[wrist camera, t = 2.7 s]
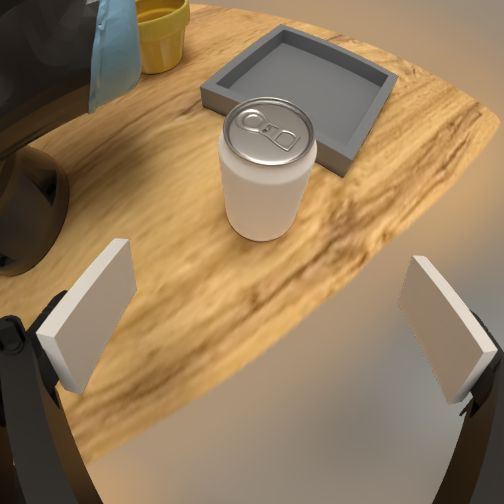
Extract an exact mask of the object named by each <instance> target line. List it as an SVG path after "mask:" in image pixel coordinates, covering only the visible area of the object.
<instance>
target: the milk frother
mask: <svg viewBox="0 0 504 504" xmlns="http://www.w3.org/2000/svg"><path fill="white" fill-rule="evenodd" d="M13 474H14V489H15V499H16V504H27V503H26V500H25V497H24V494H23V491H22V488H21V484H20V481H19V478H18V474H17V470H16V468H15V467H14V465H13Z"/></svg>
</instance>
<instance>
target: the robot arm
mask: <svg viewBox="0 0 504 504" xmlns="http://www.w3.org/2000/svg"><path fill="white" fill-rule="evenodd" d="M141 69H142V68H141V52H140V41H139V31H138V22H137V13H136V4H135V0H0V274H1V275H5V276H15V275H19V274H22V273H24V272H26V271H27V270H29V269H30V268H32V267H33V266H34V265H36V264H37V263H38V262H39V261H40V260H41V259H42V258H43V257H44V255H45V254H46V253H47V252H48V250H49V249H50V247H51V246H52V244H53V243H54V241H55V239H56V238H57V236H58V234H59V231H60V229H61V227H62V224H63V222H64V219H65V215H66V212H67V207H68V200H69V186H68V181H67V177H66V175H65V173H64V171H63V169H62V168H61V167H60V166H59V165H58V164H57V162H56V161H55V160H54V159H53V158H52V157H51V156H49V155H48V154H46V153H44V152H42V151H40V150H37V149H35V148H33V147H30V146H28V144H29V143H31V142H33V141H34V140H36V139H38V138H39V137H41V136H43V135H45V134H46V133H48V132H50V131H52V130H54V129H56V128H57V127H59V126H61V125H63V124H65V123H67V122H69V121H71V120H73V119H75V118H77V117H79V116H81V115H83V114H85V113H88V114H92V113H93V112H94V111H95V109H96V108H98V107H100V106H102V105H104V104H106V103H108V102H110V101H112V100H114V99H116V98H119V97H121V96H123V95H125V94H127V93H128V92H130V91H131V90H132V89H133V88H134V87H135V86H136V84H137V83H138V81H139V79H140V76H141ZM136 290H137V288H136V282H135V276H134V270H133V263H132V256H131V249H130V242H129V239H119V238H114V239H113V240H112V241H111V243H110V244H109V245H108V246H107V247H106V248H105V249H104V250H103V251H102V252H101V254H100V255H99V256H98V257H97V258H96V259H95V260H94V261H93V263H92V264H91V265H90V266H89V267H88V268H87V269H86V271H85V272H84V273H83V274H82V275H81V276H80V278H79V279H78V280H77V281H76V282H75V284H74V285H73V286H72V287H71V288H70V290H69V291H66V290H64V291H62V292H61V293H59V294H58V295H56V296H55V297H54V298H53V299H52V300H51V301H50V302H49V304H48V305H47V307H45V309H44V310H43V311H42V313H41V314H40V315H39V316H38V317H37V319H36V320H35V321H34V322H33V324H32V325H31V326H30V328H29V329H28V330H27V332H26V331H25V328H24V326H23V324H22V322H21V319H20V318H19V317H17V316H13V315H9V316H5V317H2V318H0V504H16V499H15V489H14V474H13V459H14V463H15V467H16V470H17V474H18V478H19V481H20V484H21V488H22V491H23V494H24V497H25V500H26V503H27V504H103V502H102V500H101V498H100V496H99V495H98V493H97V491H96V489H95V487H94V485H93V483H92V480H91V478H90V476H89V474H88V472H87V470H86V467H85V465H84V463H83V461H82V458H81V456H80V453H79V451H78V449H77V446H76V444H75V441H74V438H73V436H72V433H71V430H70V428H69V425H68V422H67V419H66V416H65V413H64V410H63V407H62V404H61V400H60V397H59V394H58V391H57V390H56V388H55V386H56V384H57V382H58V380H60V382H61V384H62V386H63V387H64V389H65V390H67V391H71V392H74V393H78V394H81V395H82V394H83V392H84V389H85V387H86V385H87V383H88V381H89V379H90V377H91V375H92V373H93V371H94V369H95V367H96V365H97V363H98V361H99V359H100V357H101V355H102V353H103V351H104V349H105V347H106V345H107V343H108V341H109V339H110V338H111V336H112V334H113V332H114V330H115V328H116V326H117V324H118V323H119V321H120V319H121V317H122V315H123V313H124V312H125V310H126V308H127V306H128V304H129V303H130V301H131V299H132V297H133V296H134V294H135V292H136ZM397 304H398V306H399V308H400V309H401V311H402V313H403V315H404V317H405V318H406V320H407V322H408V324H409V326H410V328H411V329H412V331H413V333H414V335H415V337H416V339H417V341H418V343H419V345H420V347H421V348H422V351H423V353H424V355H425V356H426V359H427V361H428V363H429V365H430V367H431V369H432V371H433V373H434V375H435V377H436V379H437V381H438V384H439V386H440V388H441V390H442V392H443V394H444V396H445V399H446V401H447V403H448V405H449V404H453V403H458V402H462V401H463V400H464V398H465V397H466V396H467V395H468V393H469V392H470V391H471V393H472V395H473V398H472V399H471V400H470V402H469V403H468V404H467V405H466V407H465V408H464V409H463V410H462V412H461V413H460V415H459V416H462V415H463V414H464V413H465V412H466V411H467V412H466V416H465V419H464V423H463V426H462V429H461V432H460V436H459V439H458V441H457V444H456V448H455V450H454V453H453V456H452V459H451V461H450V464H449V466H448V469H447V471H446V474H445V476H444V478H443V481H442V483H441V485H440V488H439V490H438V492H437V494H436V497H435V499H434V501H433V503H432V504H504V352H503V350H502V349H501V348H500V346H499V345H498V343H497V342H496V340H495V339H494V337H493V336H492V335H491V333H490V332H488V329H487V328H486V326H484V324H483V322H482V321H481V319H480V318H479V317H478V316H477V315H476V314H475V313H474V312H472V311H471V310H470V309H468V308H467V306H466V305H465V304H464V303H463V301H462V300H461V299H460V298H459V296H458V295H457V294H456V292H455V291H454V290H453V289H452V288H451V286H450V285H449V284H448V283H447V281H446V280H445V279H444V278H443V277H442V276H441V274H440V273H439V272H438V271H437V270H436V268H435V267H434V266H433V265H432V264H431V263H430V262H429V260H428V259H427V258H426V257H425V256H412V258H411V261H410V265H409V268H408V271H407V274H406V278H405V280H404V283H403V287H402V289H401V292H400V295H399V298H398V301H397Z"/></svg>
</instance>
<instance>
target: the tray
mask: <svg viewBox="0 0 504 504" xmlns="http://www.w3.org/2000/svg"><path fill="white" fill-rule="evenodd" d="M398 77H399V76H397V75H396V74H394V73H392V72H390V71H388V70H387V69H385V68H383V67H381V66H379V65H377V64H375V63H373V62H371V61H369V60H367V59H365V58H363V57H361V56H359V55H357V54H355V53H353V52H351V51H349V50H346V49H344V48H342V47H340V46H337V45H335V44H333V43H330V42H328V41H325V40H323V39H321V38H318V37H315V36H313V35H310V34H308V33H305V32H302V31H299V30H297V29H294V28H291V27H288V26H285V25H282V24H280V25H279V26H277V27H276V28H274V29H273V30H271V31H270V32H269V33H267V34H266V35H264V36H263V37H262V38H260V39H259V40H257V41H256V42H255V43H253V44H252V45H251V46H249V47H248V48H247V49H245V50H244V51H243V52H241V53H240V54H239V55H238V56H236V57H235V58H234V59H232V60H231V61H230V62H229V63H227V64H226V65H225V66H224V67H222V68H221V69H220V70H219V71H218V72H216V73H215V74H214V75H213V76H212V77H211V78H209V79H208V80H207V81H206V82H205V83H204V84H202V85H201V86H200V90H201V97H202V103H203V107H206V108H208V109H210V110H213V111H215V112H217V113H219V114H222V115H224V116H226V117H227V115H228V114H229V112H230V111H231V110H232V109H233V108H234V107H236V106H237V105H238V104H240V103H242V102H244V101H247V100H249V99H253V98H259V97H274V98H280V99H284V100H287V101H289V102H292V103H294V104H295V105H297V106H299V107H300V108H301V109H303V110H304V111H305V112H306V113H307V114H308V115H309V117H310V118H311V120H312V122H313V124H314V127H315V140H316V144H317V154H316V159H315V162H317V163H318V164H320V165H322V166H324V167H326V168H327V169H329V170H331V171H332V172H334V173H336V174H338V175H339V176H341V177H344V175H345V173H346V172H347V170H348V168H349V167H350V165H351V163H352V161H353V160H354V158H355V156H356V154H357V153H358V151H359V149H360V147H361V146H362V144H363V142H364V140H365V138H366V137H367V135H368V133H369V131H370V129H371V128H372V126H373V124H374V122H375V120H376V119H377V117H378V115H379V113H380V111H381V110H382V108H383V106H384V104H385V102H386V100H387V98H388V97H389V95H390V93H391V91H392V89H393V87H394V85H395V83H396V81H397V79H398Z"/></svg>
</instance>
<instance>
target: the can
mask: <svg viewBox="0 0 504 504" xmlns="http://www.w3.org/2000/svg"><path fill="white" fill-rule="evenodd" d="M218 150H219V161H220V169H221V177H222V185H223V192H224V199H225V206H226V212H227V217H228V220H229V222H230V224H231V226H232V227H233V228H234V230H235V231H236V232H238V233H239V234H240V235H242V236H243V237H245V238H247V239H250V240H254V241H269V240H273V239H276V238H278V237H280V236H282V235H283V234H284V233H286V232H287V231H288V229H289V228H290V227H291V225H292V223H293V221H294V219H295V216H296V214H297V211H298V208H299V206H300V203H301V200H302V197H303V195H304V192H305V189H306V186H307V183H308V181H309V178H310V175H311V172H312V169H313V166H314V163H315V159H316V154H317V144H316V140H315V127H314V124H313V122H312V120H311V118H310V117H309V115H308V114H307V113H306V112H305V111H304V110H303V109H301V108H300V107H299V106H297V105H295V104H294V103H292V102H289V101H287V100H284V99H280V98H274V97H259V98H253V99H249V100H247V101H244V102H242V103H240V104H238V105H237V106H236V107H234V108H233V109H232V110H231V111H230V112H229V114H228V115H227V117H226V119H225V121H224V125H223V129H222V132H221V134H220V137H219V143H218Z"/></svg>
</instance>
